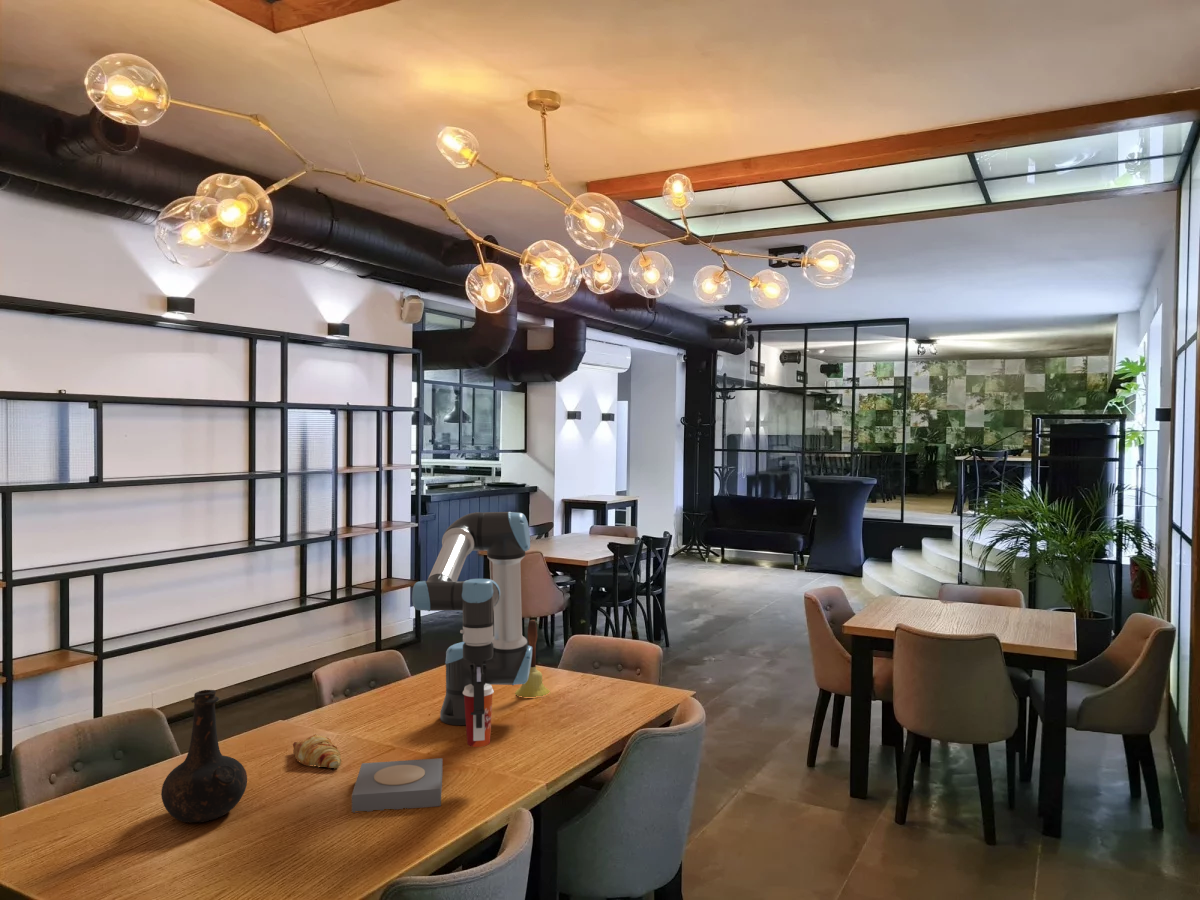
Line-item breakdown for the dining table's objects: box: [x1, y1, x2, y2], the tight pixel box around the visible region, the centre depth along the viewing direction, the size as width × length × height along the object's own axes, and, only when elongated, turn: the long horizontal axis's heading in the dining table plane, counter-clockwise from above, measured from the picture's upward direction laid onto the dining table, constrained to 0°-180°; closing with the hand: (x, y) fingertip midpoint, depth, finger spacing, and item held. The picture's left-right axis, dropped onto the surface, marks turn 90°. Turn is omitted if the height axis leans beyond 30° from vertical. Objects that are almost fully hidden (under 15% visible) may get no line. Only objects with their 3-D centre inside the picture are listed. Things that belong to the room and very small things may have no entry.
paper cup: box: [463, 683, 495, 748], centre depth 207 cm, size 8×8×14 cm
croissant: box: [292, 734, 342, 769], centre depth 224 cm, size 21×10×8 cm, turn 51°
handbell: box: [514, 619, 551, 697], centre depth 286 cm, size 12×12×25 cm
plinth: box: [351, 757, 443, 813], centre depth 203 cm, size 20×20×4 cm
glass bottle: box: [161, 689, 248, 823], centre depth 191 cm, size 18×18×28 cm
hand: (478, 734), depth 207 cm, fingers closed on paper cup, 7 cm apart
